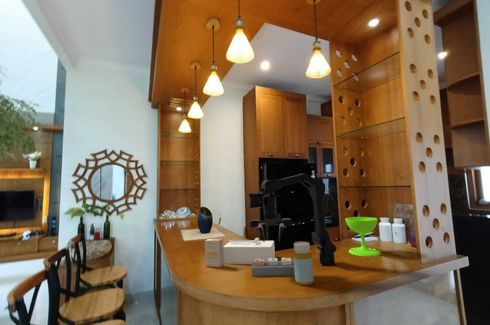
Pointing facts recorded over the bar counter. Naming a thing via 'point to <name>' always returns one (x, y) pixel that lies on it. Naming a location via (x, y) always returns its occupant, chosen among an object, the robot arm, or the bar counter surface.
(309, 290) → the bar counter surface
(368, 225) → the wineglass
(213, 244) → the supplement box
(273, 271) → the keypad
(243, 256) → the tissue box
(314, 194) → the robot arm
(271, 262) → the key sage
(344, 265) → the bar counter surface
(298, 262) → the bottle
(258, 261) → the key terracotta
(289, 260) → the key cream
